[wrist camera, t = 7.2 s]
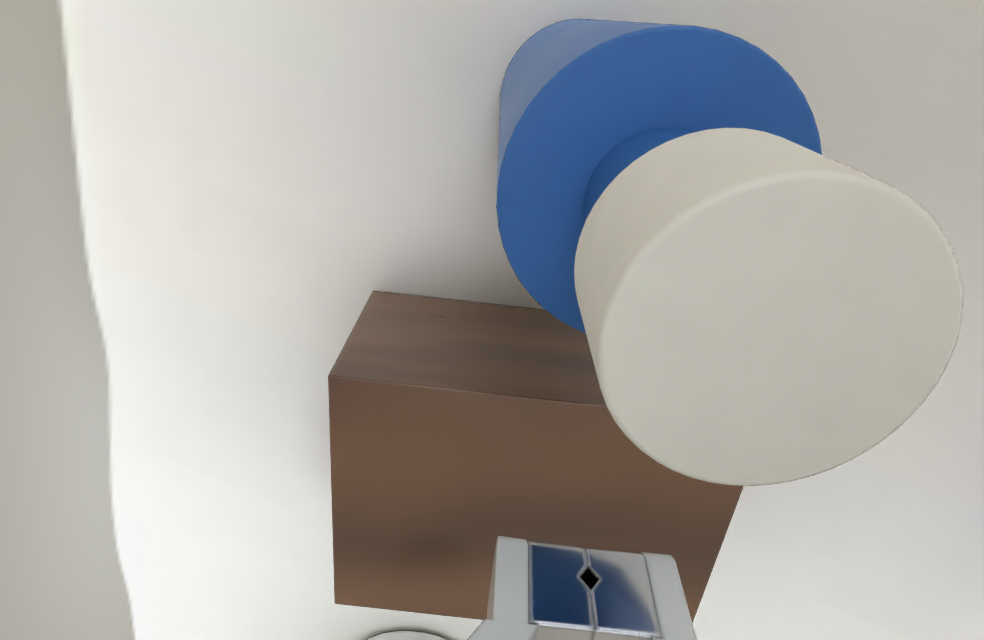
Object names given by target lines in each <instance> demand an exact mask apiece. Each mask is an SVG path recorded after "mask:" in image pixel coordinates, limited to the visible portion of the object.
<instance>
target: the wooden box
mask: <svg viewBox="0 0 984 640" xmlns="http://www.w3.org/2000/svg"><path fill="white" fill-rule="evenodd" d="M328 385H329V420H330V455H331V490H332V525H333V560H334V595H335V604H343V605H352V606H361V607H370V608H380V609H389V610H398V611H407V612H416V613H426V614H435V615H444V616H453V617H462V618H472V619H481V620H484V619H487V607H488V599H489V590H490V582H491V575H492V568H493V561H494V554H495V548H496V541H497V538H498V536H504V537H511V538H519V539H526V540H528V539H530V540H537V541H545V542H552V543H559V544H567V545H574V546H581V547H583V546H587V547H597V548H607V549H617V550H627V551H637V552H640V553H642V552H645V553H655V554H665V555H671V556H672V557H673V558H674V560H675V562H676V565H677V569H678V573H679V576H680V580H681V584H682V588H683V591H684V595H685V599H686V602H687V606H688V610H689V613H690V617H691V621H692V623H693V620H694V617H695V615H696V612H697V609H698V607H699V604H700V601H701V599H702V596H703V593H704V591H705V588H706V585H707V583H708V580H709V577H710V575H711V572H712V569H713V567H714V564H715V561H716V559H717V556H718V553H719V551H720V548H721V545H722V543H723V540H724V537H725V534H726V532H727V529H728V526H729V524H730V521H731V518H732V516H733V513H734V510H735V508H736V505H737V502H738V500H739V497H740V494H741V492H742V489H743V486H740V485H725V484H718V483H711V482H707V481H703V480H699V479H695V478H691V477H688V476H686V475H683V474H681V473H678V472H675V471H673V470H671V469H669V468H667V467H666V466H664V465H662V464H660V463H658V462H657V461H655V460H654V459H652V458H651V457H650V456H648V455H647V454H646V453H644V452H643V451H641V450H640V449H639V448H638V447H637V446H636V445H635V444H634V443H633V442H632V441H631V440H630V439H629V438H628V437H626V435H625V434H624V433H623V431H622V430H621V429H620V427H619V426H618V425H617V424H616V422H615V420H614V419H613V417H612V415H611V413H610V411H609V409H608V408H607V406H606V403H605V400H604V397H603V395H602V392H601V389H600V385H599V381H598V378H597V374H596V370H595V366H594V362H593V358H592V354H591V351H590V347H589V343H588V339H587V335H586V333H584V332H581V331H579V330H577V329H574V328H572V327H570V326H569V325H567V324H565V323H564V322H562V321H560V320H558V319H557V318H556V317H554V316H553V315H552V314H550V313H549V312H548V311H546V310H542V309H533V308H524V307H515V306H505V305H496V304H487V303H478V302H469V301H460V300H451V299H442V298H432V297H423V296H414V295H405V294H396V293H387V292H378V291H373V292H372V294H371V295H370V297H369V299H368V301H367V303H366V305H365V307H364V309H363V311H362V313H361V315H360V316H359V318H358V320H357V322H356V324H355V326H354V328H353V330H352V332H351V334H350V335H349V337H348V339H347V341H346V343H345V345H344V347H343V349H342V351H341V353H340V355H339V356H338V358H337V360H336V362H335V364H334V366H333V368H332V370H331V372H330V374H329V376H328Z"/></svg>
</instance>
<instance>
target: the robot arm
mask: <svg viewBox="0 0 984 640" xmlns="http://www.w3.org/2000/svg"><path fill="white" fill-rule="evenodd" d="M468 640H697V639H696V635H695V632H694V628H693V624H692V621H691V617H690V613H689V610H688V606H687V602H686V599H685V595H684V591H683V588H682V584H681V580H680V576H679V573H678V569H677V565H676V562H675V560H674V558H673V557H672V556H671V555H665V554H655V553H645V552H642V553H640V552H637V551H627V550H617V549H607V548H597V547H587V546H583V547H581V546H574V545H567V544H559V543H552V542H545V541H537V540H530V539H528V540H526V539H519V538H511V537H504V536H498V538H497V541H496V548H495V554H494V561H493V568H492V575H491V582H490V590H489V599H488V607H487V619H484V620H483V621H482V622H481V624H480V625H479V626H478V627H477V629H476V630H475V631H474V632H473V634H472V635H471V636H470V637H469V638H468Z"/></svg>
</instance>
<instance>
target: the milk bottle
mask: <svg viewBox="0 0 984 640" xmlns="http://www.w3.org/2000/svg"><path fill="white" fill-rule="evenodd" d="M368 640H446V639H443V638H441V637H438V636H436V635H431V634H427V633H423V632H413V631H394V632H389V633H383V634H380V635H377V636H374V637H371V638H369V639H368Z"/></svg>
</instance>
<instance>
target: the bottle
mask: <svg viewBox="0 0 984 640" xmlns="http://www.w3.org/2000/svg"><path fill="white" fill-rule="evenodd" d="M496 208H497V218H498V228H499V232H500V236H501V240H502V244H503V248H504V250H505V253H506V255H507V258H508V260H509V263H510V265H511V267H512V269H513V270H514V272H515V274H516V276H517V277H518V279H519V281H520V282H521V283H522V285H523V286H524V287H525V289H526V290H527V291H528V293H529V294H530V295H531V296H532V297H533V298H534V299H535V300H536V301H537V302H538V303H539V304H540V305H541V306H542V307H543V308H544V309H545V310H546V311H548V312H549V313H550V314H552V315H553V316H554V317H556V318H557V319H558V320H560V321H562V322H564V323H565V324H567V325H569V326H570V327H572V328H574V329H577V330H579V331H581V332H584V333H586V335H587V339H588V343H589V347H590V351H591V354H592V358H593V362H594V366H595V370H596V374H597V378H598V381H599V385H600V389H601V392H602V395H603V397H604V400H605V403H606V406H607V408H608V409H609V411H610V413H611V415H612V417H613V419H614V420H615V422H616V424H617V425H618V426H619V427H620V429H621V430H622V431H623V433H624V434H625V435H626V437H628V438H629V439H630V440H631V441H632V442H633V443H634V444H635V445H636V446H637V447H638V448H639V449H640V450H641V451H643V452H644V453H646V454H647V455H648V456H650V457H651V458H652V459H654V460H655V461H657V462H658V463H660V464H662V465H664V466H666V467H667V468H669V469H671V470H673V471H675V472H678V473H681V474H683V475H686V476H688V477H691V478H695V479H699V480H703V481H707V482H711V483H718V484H725V485H740V486H755V485H770V484H777V483H783V482H789V481H794V480H798V479H802V478H805V477H809V476H813V475H816V474H818V473H821V472H824V471H827V470H829V469H832V468H835V467H837V466H839V465H841V464H843V463H845V462H847V461H849V460H852V459H854V458H855V457H857V456H859V455H860V454H862V453H864V452H866V451H867V450H869V449H871V448H872V447H874V446H875V445H877V444H878V443H879V442H881V441H882V440H883V439H885V438H886V437H887V436H889V435H890V434H892V433H893V432H894V431H895V430H896V429H897V428H898V427H899V426H901V425H902V424H903V423H904V422H905V421H906V420H907V419H908V418H909V417H910V416H911V415H912V414H913V413H914V412H915V411H916V410H917V408H918V407H919V406H920V405H921V404H922V403H923V402H924V401H925V399H926V398H927V396H928V395H929V394H930V392H931V391H932V390H933V388H934V387H935V385H936V384H937V382H938V381H939V379H940V377H941V375H942V373H943V372H944V370H945V368H946V366H947V364H948V362H949V360H950V357H951V355H952V352H953V350H954V347H955V345H956V341H957V337H958V333H959V329H960V325H961V318H962V308H963V294H962V281H961V276H960V272H959V268H958V263H957V260H956V258H955V255H954V253H953V251H952V248H951V246H950V244H949V241H948V239H947V237H946V236H945V234H944V233H943V231H942V230H941V228H940V227H939V225H938V224H937V222H936V221H935V220H934V219H933V218H932V217H931V216H930V215H929V214H928V213H927V211H926V210H925V209H924V208H923V207H922V206H921V205H919V204H918V203H917V202H915V201H914V200H913V199H911V198H910V197H909V196H907V195H906V194H905V193H903V192H902V191H900V190H898V189H896V188H894V187H892V186H890V185H888V184H886V183H884V182H882V181H880V180H877V179H875V178H873V177H871V176H868V175H866V174H864V173H862V172H859V171H857V170H855V169H853V168H850V167H848V166H846V165H843V164H841V163H839V162H837V161H834V160H832V159H830V158H828V157H825V156H823V155H822V152H821V145H820V138H819V133H818V129H817V126H816V123H815V120H814V116H813V113H812V111H811V109H810V107H809V105H808V103H807V101H806V99H805V97H804V94H803V93H802V92H801V90H800V89H799V87H798V86H797V84H796V83H795V81H794V80H793V79H792V77H791V76H790V75H789V74H788V73H787V72H786V71H785V70H784V69H783V68H782V67H781V66H780V64H779V63H778V62H777V61H775V60H774V59H773V58H771V57H770V56H769V55H767V54H766V53H765V52H764V51H762V50H761V49H760V48H758V47H756V46H754V45H752V44H750V43H749V42H747V41H745V40H743V39H741V38H739V37H736V36H733V35H730V34H728V33H725V32H722V31H719V30H715V29H709V28H703V27H698V26H688V25H672V24H655V23H639V22H622V21H606V20H589V19H572V20H565V21H561V22H557V23H554V24H552V25H550V26H547V27H545V28H544V29H542V30H540V31H538V32H537V33H536V34H534V35H533V36H532V37H530V38H529V39H528V40H527V41H526V42H525V43H524V44H523V45H522V46H521V47H520V49H519V50H518V51H517V52H516V54H515V55H514V57H513V59H512V60H511V62H510V64H509V66H508V68H507V71H506V73H505V76H504V79H503V83H502V88H501V94H500V121H499V148H498V176H497V205H496Z"/></svg>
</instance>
